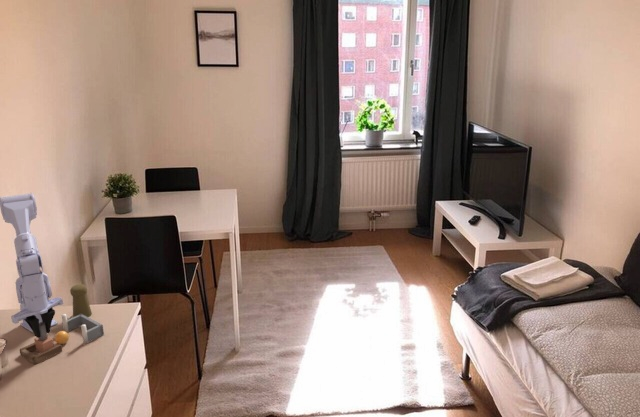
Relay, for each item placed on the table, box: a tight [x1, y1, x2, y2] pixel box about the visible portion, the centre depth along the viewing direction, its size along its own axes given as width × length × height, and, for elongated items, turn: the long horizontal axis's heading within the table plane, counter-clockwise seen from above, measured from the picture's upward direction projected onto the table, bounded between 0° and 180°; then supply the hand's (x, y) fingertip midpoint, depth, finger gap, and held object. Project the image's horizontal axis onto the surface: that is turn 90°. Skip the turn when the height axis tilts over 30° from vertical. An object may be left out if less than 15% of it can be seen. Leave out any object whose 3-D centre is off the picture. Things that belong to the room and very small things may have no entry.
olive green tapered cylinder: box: [69, 283, 93, 318], centre depth 185 cm, size 6×6×11 cm
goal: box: [61, 313, 105, 345], centre depth 175 cm, size 12×7×6 cm, turn 54°
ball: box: [54, 330, 70, 345], centre depth 170 cm, size 4×4×4 cm
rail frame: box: [19, 341, 63, 365], centre depth 165 cm, size 8×8×2 cm
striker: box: [33, 322, 54, 353], centre depth 165 cm, size 5×3×9 cm, turn 54°
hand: (42, 334), depth 164 cm, fingers closed on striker, 2 cm apart
